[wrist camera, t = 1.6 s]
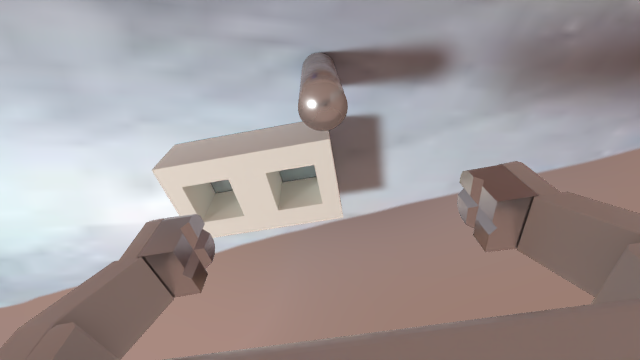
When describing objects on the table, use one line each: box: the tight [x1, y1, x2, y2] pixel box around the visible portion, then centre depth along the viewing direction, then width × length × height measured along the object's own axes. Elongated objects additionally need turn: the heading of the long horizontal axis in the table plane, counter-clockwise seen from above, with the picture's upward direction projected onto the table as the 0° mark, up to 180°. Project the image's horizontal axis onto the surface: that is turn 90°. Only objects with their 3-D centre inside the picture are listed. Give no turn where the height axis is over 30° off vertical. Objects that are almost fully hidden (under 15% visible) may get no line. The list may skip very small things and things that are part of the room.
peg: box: [298, 53, 348, 131], centre depth 21 cm, size 3×3×10 cm
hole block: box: [152, 122, 343, 238], centre depth 29 cm, size 16×9×5 cm, turn 100°
